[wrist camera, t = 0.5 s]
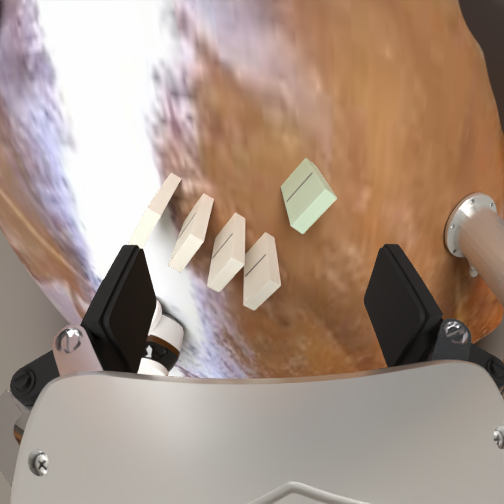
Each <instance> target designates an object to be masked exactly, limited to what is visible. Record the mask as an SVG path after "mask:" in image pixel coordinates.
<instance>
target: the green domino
mask: <svg viewBox="0 0 504 504" xmlns="http://www.w3.org/2000/svg"><path fill="white" fill-rule="evenodd" d="M281 190H282V194H283V198H284V202H285V206H286V209H287V213H288V217H289V221H290V225H291V226H292V227H293V228H294V229H296V230H297V231H299V232H300V233H302V234H304V233H305V232H306V231H307V229H308V228H309V227H310V226H311V225H312V224H313V223H314V222H315V221H316V220H317V219H318V218H319V217H320V216H321V215H322V214H323V213H324V212H325V211H326V210H327V209H328V207H329V206H330V205H331V204H332V203H333V202H334V201H335V200H336V199H337V197H336V196H335V194H334V192H333V191H332V189H331V188H330V186H329V185H328V183H327V182H326V180H325V179H324V177H323V176H322V174H321V173H320V171H319V170H318V168H317V167H316V165H315V164H313V163H312V162H311V161H310V160H308V159H307V158H305V159H304V160H303V161H302V162H301V164H300V165H299V166H298V167H297V168H296V169H295V171H294V172H293V173H292V174H291V175H290V176H289V177H288V179H287V180H286V181H285V182H284V183H283V184H282V186H281Z"/></svg>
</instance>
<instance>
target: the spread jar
mask: <svg viewBox="0 0 504 504" xmlns="http://www.w3.org/2000/svg"><path fill="white" fill-rule="evenodd" d="M156 300H157V299H156ZM183 335H184V331H183V328H182V326H181V325H180V324H179V323H178V321H176V320H175V319H174V318H173V317H171V316H170V315H168V314H166V313H163V312H162V309H161V305H160V303H159V301H158V300H157V305H156V309H155V313H154V316H153V319H152V323H151V326H150V330H149V333H148V337H147V340H146V344H145V348H144V351H143V355H142V359H141V363H140V366H139V370H138V373H137V374H148V375H161V376H168V374H169V372H170V371H171V369H172V368H173V367H174V365H175V364H176V362H177V360H178V358H179V355H180V352H181V347H182V341H183Z"/></svg>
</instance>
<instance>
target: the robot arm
mask: <svg viewBox="0 0 504 504" xmlns="http://www.w3.org/2000/svg"><path fill="white" fill-rule="evenodd" d="M445 244H446V246H447V249H448V250H449V251H450V252H451V253H452V254H453V255H454V256H456V257H461V258H462V257H466V259H467V260H468V263H469V265H470V266H469V275H470V276H472V277H476V276H477V275H478V273H479V275H480V276H481V277H482V279H483V280H484V281H485V282H486V284H487V285H488V286H489V288H490V289H491V291H492V292H493V293H494V295H495V296H496V298H497V299H498V300H499V302H500V303H501V305H502V306H503V308H504V220H503V219H502V218H501V217H500V216H499V215H498V214H497V210H496V206H495V203H494V201H493V200H492V199H491V198H490V197H489V196H488V195H486V194H484V193H478V192H477V193H473V194H471V195H469V196H467V197H466V198H464V199H463V200H462V201H461V202H460V203H459V204H458V205H457V206H456V207H455V209H454V210H453V212H452V213H451V215H450V217H449V220H448V222H447V225H446V229H445ZM364 304H365V307H366V310H367V312H368V315H369V317H370V320H371V322H372V325H373V328H374V330H375V333H376V336H377V338H378V341H379V344H380V347H381V349H382V352H383V355H384V358H385V361H386V364H387V366H388V368H381V369H375V370H367V371H360V372H352V373H342V374H332V375H321V376H308V377H292V378H267V379H215V378H190V377H174V376H161V375H148V374H137V373H138V370H139V366H140V363H141V359H142V355H143V351H144V348H145V344H146V340H147V337H148V333H149V330H150V326H151V323H152V319H153V316H154V313H155V309H156V305H157V300H156V296H155V292H154V289H153V285H152V281H151V278H150V274H149V270H148V266H147V262H146V258H145V254H144V251H143V249H142V248H139V246H138V245H123V247H122V248H121V250H120V252H119V253H118V255H117V257H116V259H115V260H114V262H113V264H112V266H111V268H110V269H109V271H108V273H107V275H106V277H105V278H104V280H103V281H102V283H101V285H100V287H99V288H98V290H97V292H96V294H95V296H94V298H93V300H92V302H91V304H90V306H89V308H88V310H87V312H86V314H85V316H84V318H83V320H82V323H81V325H75V324H74V325H68V326H65V327H63V328H62V329H60V330H59V331H58V332H57V333H56V334H55V336H54V338H53V341H52V350H51V351H50V352H48V353H46V354H45V355H43V356H41V357H39V358H38V359H36V360H34V361H33V362H31V363H29V364H27V365H26V366H24V367H22V368H21V369H19V370H18V371H17V372H16V373H15V374H14V375H13V377H12V380H11V384H10V388H11V390H10V391H9V392H8V391H7V390H6V391H5V392H4V393H3V394H2V395H1V396H0V470H1V472H2V473H3V475H4V476H5V478H6V479H7V481H8V482H9V484H10V485H11V486H12V493H11V504H504V359H503V360H502V361H501V360H500V359H498V358H497V357H495V356H493V355H491V354H490V353H488V352H486V351H485V350H483V349H481V348H479V347H477V346H476V345H474V344H472V343H471V333H470V331H469V329H468V328H467V326H466V325H465V324H464V323H462V322H461V321H459V320H456V319H451V318H449V319H446V320H444V321H443V319H442V315H443V314H442V312H441V310H440V308H439V307H438V305H437V303H436V302H435V300H434V298H433V297H432V295H431V293H430V292H429V290H428V288H427V287H426V285H425V284H424V282H423V280H422V279H421V277H420V276H419V274H418V273H417V271H416V270H415V268H414V267H413V265H412V264H411V262H410V261H409V259H408V258H407V256H406V255H405V253H404V252H403V250H402V249H401V247H400V246H399V245H398V244H385V245H384V246H383V248H380V249H379V252H378V255H377V259H376V262H375V265H374V269H373V272H372V275H371V278H370V281H369V284H368V287H367V290H366V293H365V296H364Z"/></svg>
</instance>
